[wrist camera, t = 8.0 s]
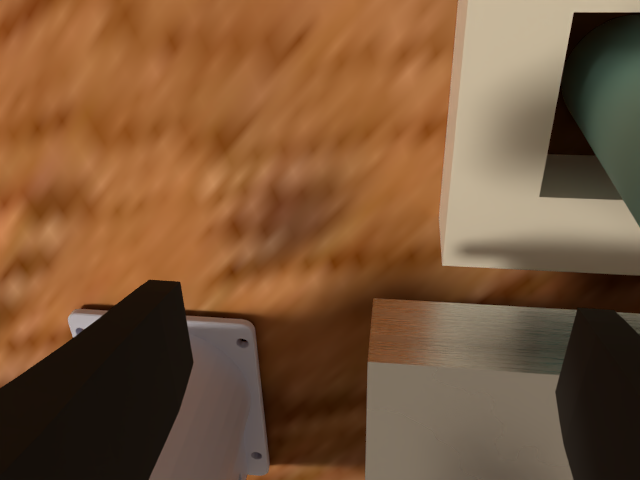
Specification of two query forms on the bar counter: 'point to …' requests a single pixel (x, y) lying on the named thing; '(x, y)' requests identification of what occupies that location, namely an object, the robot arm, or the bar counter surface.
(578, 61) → the peg
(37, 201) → the bar counter surface
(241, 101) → the bar counter surface
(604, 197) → the socket block
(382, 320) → the grey angle bracket
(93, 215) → the bar counter surface
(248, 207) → the bar counter surface
